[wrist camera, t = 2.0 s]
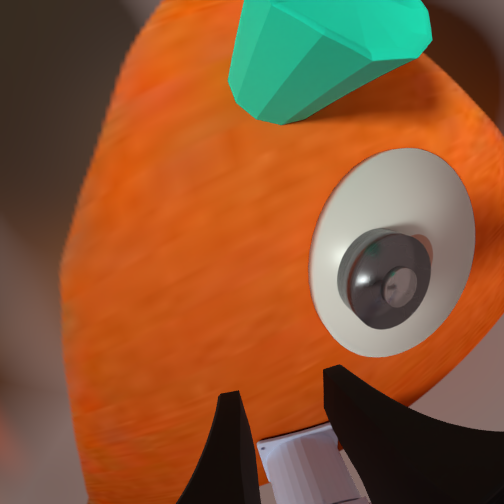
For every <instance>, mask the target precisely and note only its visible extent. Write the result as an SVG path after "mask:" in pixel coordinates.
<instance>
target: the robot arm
mask: <svg viewBox="0 0 504 504" xmlns="http://www.w3.org/2000/svg"><path fill="white" fill-rule="evenodd" d="M323 382H324V409H325V411H326V414H327V416H328V419H329V421H330V422H329V423H326V424H323V425H320V426H316V427H313V428H310V429H306V430H303V431H299V432H295V433H292V434H288V435H284V436H280V437H276V438H271V439H267V440H262V441H259V442H258V443H257V447H258V451H259V454H260V457H261V460H262V463H263V466H264V469H265V472H266V475H267V478H268V481H269V482H271V483H272V487H273V491H274V495H275V498H276V502H277V504H504V432H495V431H486V430H478V429H471V428H467V427H462V426H458V425H454V424H449V423H446V422H443V421H440V420H437V419H434V418H431V417H428V416H426V415H424V414H421V413H419V412H417V411H415V410H412V409H410V408H408V407H406V406H404V405H402V404H400V403H398V402H397V401H395V400H393V399H391V398H390V397H388V396H386V395H385V394H383V393H381V392H380V391H378V390H376V389H375V388H373V387H372V386H370V385H369V384H367V383H366V382H364V381H363V380H361V379H360V378H358V377H357V376H356V375H354V374H353V373H351V372H350V371H349V370H347V369H346V368H345V367H343V366H342V365H340V364H339V365H336V366H333V367H330V368H326V369H323ZM338 440H339V441H340V443H341V445H342V447H343V448H344V450H345V452H346V453H347V455H348V457H349V459H350V460H351V462H352V464H353V465H354V467H355V469H356V470H357V472H358V474H359V476H360V478H361V480H362V482H363V484H364V486H365V489H366V491H367V493H368V496H369V498H370V500H371V502H370V503H369V502H368V500H367V498H366V497H365V496H364V497H361V495H360V493H359V491H358V489H357V487H356V485H355V483H354V481H353V479H352V477H351V475H350V473H349V471H348V469H347V467H346V465H345V463H344V461H343V459H342V457H341V455H340V453H339V450H338V448H337V444H338ZM176 504H261V500H260V492H259V483H258V474H257V464H256V455H255V448H254V444H253V439H252V435H251V430H250V426H249V423H248V419H247V416H246V413H245V410H244V406H243V403H242V399H241V396H240V393H239V390H238V391H233V392H228V393H222V394H220V395H219V396H218V402H217V407H216V412H215V416H214V419H213V423H212V427H211V430H210V433H209V436H208V439H207V442H206V444H205V447H204V450H203V452H202V454H201V457H200V459H199V462H198V464H197V466H196V469H195V471H194V473H193V475H192V477H191V479H190V481H189V482H188V484H187V486H186V488H185V490H184V491H183V493H182V495H181V496H180V498H179V499H178V501H177V503H176Z"/></svg>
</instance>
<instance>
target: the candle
mask: <svg viewBox="0 0 504 504" xmlns="http://www.w3.org/2000/svg"><path fill="white" fill-rule="evenodd" d="M431 41H432V34H431V27H430V20H429V14H428V10H427V9H426V7H425V6H424V4H423V3H422V2H421V0H244V4H243V8H242V13H241V17H240V22H239V26H238V31H237V36H236V40H235V45H234V50H233V56H232V61H231V66H230V71H229V77H228V83H229V85H230V88H231V91H232V93H233V96H234V99H235V101H236V103H237V104H238V105H239V106H241V107H242V108H243V109H244V110H245V111H247V112H248V113H249V114H250V115H252V116H253V117H254V118H255V119H257V120H262V121H266V122H270V123H275V124H279V125H284V124H288V123H292V122H296V121H300V120H304V119H306V118H308V117H309V116H311V115H313V114H314V113H316V112H318V111H319V110H321V109H322V108H324V107H326V106H328V105H329V104H331V103H333V102H334V101H336V100H338V99H340V98H341V97H343V96H345V95H347V94H348V93H350V92H352V91H354V90H356V89H357V88H359V87H361V86H363V85H365V84H367V83H368V82H370V81H372V80H374V79H376V78H378V77H380V76H382V75H384V74H386V73H388V72H390V71H392V70H394V69H396V68H398V67H400V66H402V65H404V64H406V63H408V62H410V61H412V60H415V59H417V58H418V57H419V56H420V55H421V53H422V52H423V51H424V50H425V48H426V47H427V46H428V45H429V43H430V42H431Z"/></svg>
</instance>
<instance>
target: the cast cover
mask: <svg viewBox="0 0 504 504" xmlns="http://www.w3.org/2000/svg"><path fill="white" fill-rule="evenodd" d="M430 277H431V263H430V258H429V255H428V252H427V250H426V248H425V247H424V245H423V244H422V243H421V242H420V241H419V240H417V239H416V238H414V237H411V236H408V235H405V234H402V233H399V232H396V231H393V230H390V229H386V228H376V229H372V230H369V231H367V232H365V233H363V234H362V235H360V236H359V237H358V238H356V239H355V240H354V241H353V242H352V243H351V245H350V246H349V247H348V248H347V250H346V252H345V253H344V255H343V257H342V259H341V262H340V265H339V269H338V275H337V287H338V292H339V295H340V297H341V299H342V301H343V303H344V304H345V305H346V306H347V307H348V308H349V309H350V310H351V311H352V312H353V313H354V314H355V315H356V316H357V317H358V318H359V319H360V320H361V321H362V322H363V323H365V324H366V325H367V326H369V327H371V328H374V329H379V330H384V329H390V328H393V327H395V326H398V325H399V324H401V323H403V322H404V321H406V320H407V319H408V318H409V317H410V316H411V315H412V314H413V313H414V312H415V311H416V310H417V308H418V307H419V306H420V304H421V303H422V301H423V299H424V297H425V295H426V292H427V290H428V286H429V283H430Z"/></svg>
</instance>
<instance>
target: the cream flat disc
mask: <svg viewBox="0 0 504 504" xmlns="http://www.w3.org/2000/svg"><path fill="white" fill-rule="evenodd" d="M376 228H386V229H390V230H393V231H396V232H399V233H402V234H405V235H408V236H411V237H414V238H416V239H417V240H419V241H420V242H421V243H422V244H423V245H424V247H425V248H426V250H427V252H428V255H429V258H430V263H431V277H430V283H429V286H428V290H427V292H426V295H425V297H424V299H423V301H422V303H421V304H420V306H419V307H418V308H417V310H416V311H415V312H414V313H413V314H412V315H411V316H410V317H409V318H408V319H407V320H406V321H404V322H403V323H401V324H399V325H398V326H395V327H393V328H390V329H384V330H379V329H374V328H371V327H369V326H367V325H366V324H365V323H363V322H362V321H361V320H360V319H359V318H358V317H357V316H356V315H355V314H354V313H353V312H352V311H351V310H350V309H349V308H348V307H347V306H346V305H345V304H344V303H343V301H342V299H341V297H340V295H339V292H338V287H337V275H338V269H339V265H340V262H341V259H342V257H343V255H344V253H345V252H346V250H347V248H348V247H349V246H350V245H351V243H352V242H353V241H354V240H355V239H356V238H358V237H359V236H360V235H362V234H363V233H365V232H367V231H369V230H372V229H376ZM474 248H475V222H474V215H473V210H472V206H471V202H470V199H469V196H468V193H467V191H466V189H465V187H464V185H463V183H462V181H461V179H460V178H459V176H458V175H457V174H456V172H455V171H454V170H453V169H452V168H451V167H450V166H449V165H448V164H447V163H446V162H445V161H444V160H442V159H441V158H440V157H438V156H436V155H434V154H432V153H430V152H428V151H425V150H421V149H415V148H402V149H393V150H386V151H382V152H379V153H376V154H374V155H372V156H370V157H368V158H366V159H364V160H363V161H361V162H360V163H358V164H357V165H356V166H354V167H353V168H352V169H351V170H350V171H349V172H348V173H347V174H346V175H345V176H344V177H343V178H342V179H341V180H340V182H339V183H338V184H337V185H336V187H335V188H334V189H333V191H332V192H331V194H330V196H329V198H328V199H327V201H326V203H325V204H324V207H323V209H322V211H321V213H320V215H319V218H318V220H317V223H316V227H315V230H314V233H313V237H312V242H311V247H310V252H309V264H308V273H309V286H310V292H311V297H312V300H313V304H314V307H315V310H316V312H317V314H318V316H319V318H320V320H321V321H322V323H323V324H324V325H325V327H326V328H327V330H328V331H329V332H330V334H331V335H332V336H333V337H334V338H335V339H336V340H337V341H338V342H339V343H340V344H341V345H342V346H343V347H345V348H346V349H348V350H349V351H352V352H354V353H356V354H359V355H363V356H367V357H386V356H391V355H395V354H399V353H401V352H404V351H406V350H408V349H410V348H412V347H414V346H416V345H418V344H419V343H421V342H422V341H423V340H425V339H426V338H427V337H429V336H430V335H431V334H432V333H433V332H434V331H435V330H436V329H437V328H438V327H439V326H440V325H441V324H442V323H443V322H444V321H445V319H446V318H447V317H448V316H449V314H450V313H451V311H452V310H453V308H454V307H455V305H456V303H457V302H458V300H459V298H460V296H461V294H462V292H463V290H464V287H465V285H466V282H467V279H468V277H469V273H470V270H471V266H472V261H473V256H474Z"/></svg>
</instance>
